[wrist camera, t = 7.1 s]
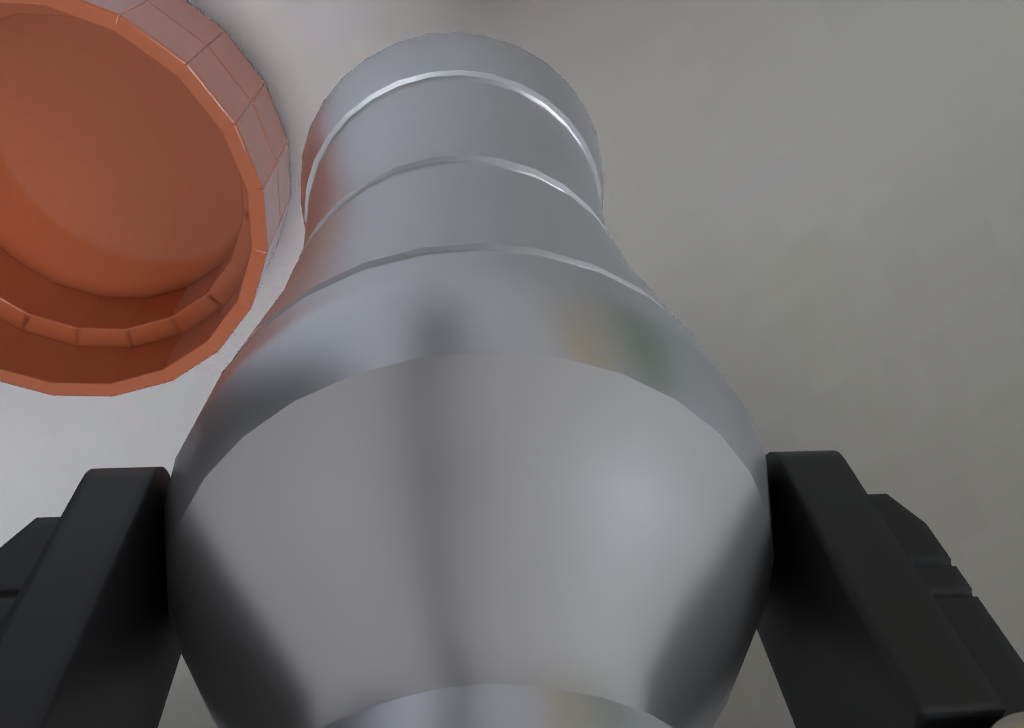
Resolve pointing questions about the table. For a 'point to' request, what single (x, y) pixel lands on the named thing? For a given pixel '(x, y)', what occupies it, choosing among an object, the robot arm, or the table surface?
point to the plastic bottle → (465, 440)
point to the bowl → (129, 192)
